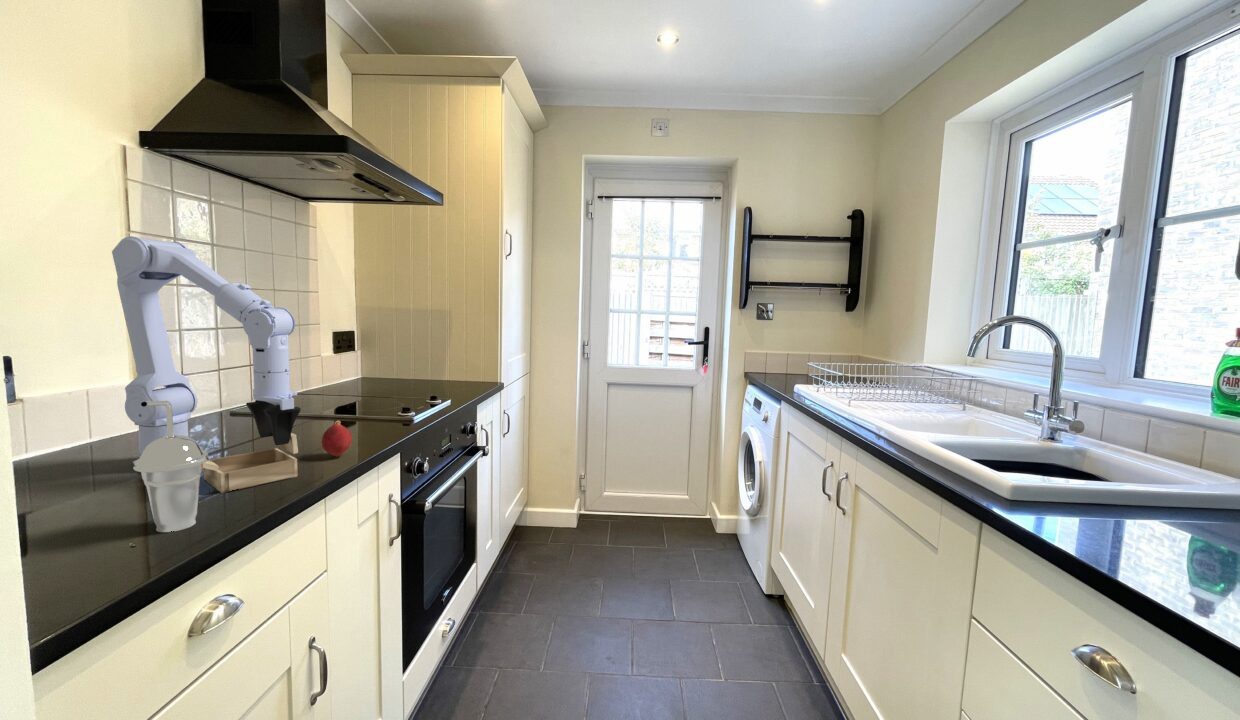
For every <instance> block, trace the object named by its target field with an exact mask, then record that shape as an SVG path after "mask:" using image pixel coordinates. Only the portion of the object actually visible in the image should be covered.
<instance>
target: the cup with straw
mask: <svg viewBox="0 0 1240 720" xmlns="http://www.w3.org/2000/svg"><path fill="white" fill-rule="evenodd" d="M163 405H165V407H166V419H167V436H164V437H161V438H158V439H156V440H154V441H153V442H151V443H150V444H149V445H148V446H147V447H146V448H145V449H144V451H143V453H142V455H141V457H140V458H138V459H136V460H134V461H135V462H134V464H133V467H132V468H133V470H134V471H135V472H139V473H140V475H141V479H142V481H143V483H144V484H143V485H144V486H145V487H146V491H147V495H148V501H149V504H150V509H151V513H152V517H153V522H154V524H155V526H156V528H155V531H156V532H158V533H172V532H173V531H174V532H178V531H182V530H185V529H188V528H191V527H192V526H194V525H196V523H197V521H196V517H197V515H198V503H199V494H200V483H201V481H200V480H201V477H202V472H203V463H205V462H207V461H208V460H210V456H209V453H208V452H207V451H206V450H203V449H202V447H201V446H200V444H199V443H198V442H197V441H196V440H195V439H193V438H192V437H187V436H182V435H174V431H173V414H172V405H171V403H170V402H169V401H146V402H142V403H141V406H143V407H147V406H163ZM171 531H172V532H171Z"/></svg>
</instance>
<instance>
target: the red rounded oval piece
mask: <svg viewBox="0 0 1240 720" xmlns="http://www.w3.org/2000/svg"><path fill="white" fill-rule="evenodd" d="M341 423H342V422H341V420H336V421H335V422H334V423H333V424H332V425H331V426H329V427H328V428H327V429H326V430H325V431H324V432H323V434H322V437H321V447H322V448H323V450H324V451H325V452H326V453H328V454H329V455H331V456H333V457H336V458H339V457H341V456H342V455H343V454H344V453H346V452H347V451H348V450H349V449H350V448H351V446H352V445H353V444H352V443H353V435H352V433H351V431H350V430H349V429H348V428H347V427H345V426H344V425H342V424H341Z"/></svg>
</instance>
